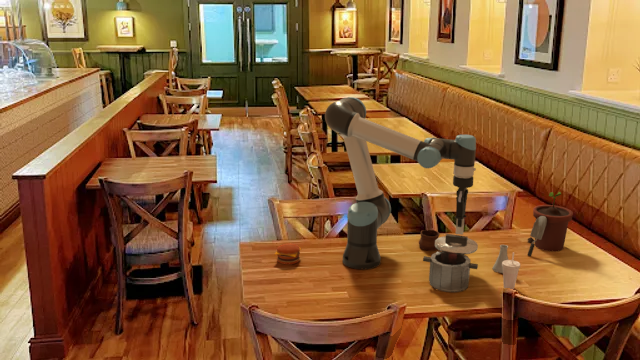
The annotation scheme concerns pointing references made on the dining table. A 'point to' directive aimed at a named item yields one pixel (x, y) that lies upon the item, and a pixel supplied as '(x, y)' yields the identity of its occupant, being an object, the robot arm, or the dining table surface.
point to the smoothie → (510, 272)
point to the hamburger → (288, 253)
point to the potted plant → (549, 227)
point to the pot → (449, 271)
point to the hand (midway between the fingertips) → (459, 233)
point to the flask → (501, 259)
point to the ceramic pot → (428, 240)
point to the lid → (456, 244)
